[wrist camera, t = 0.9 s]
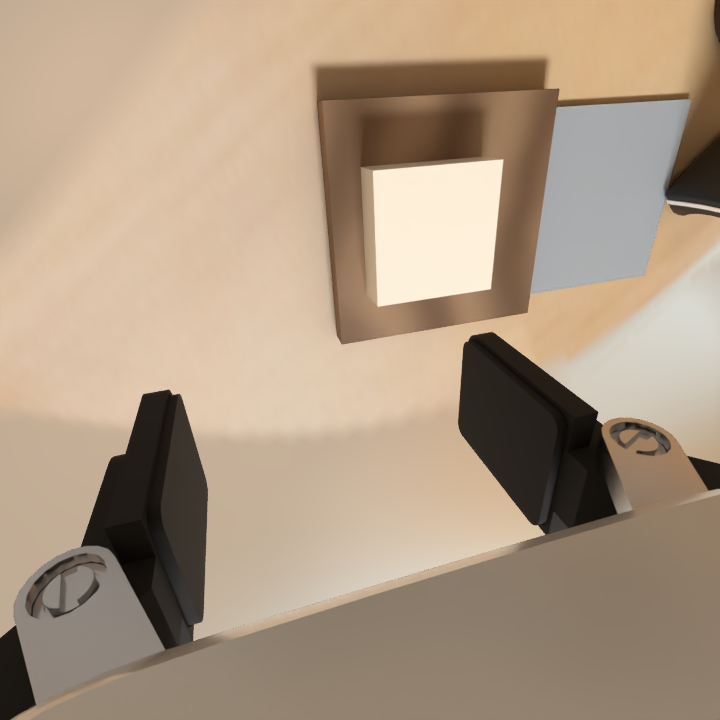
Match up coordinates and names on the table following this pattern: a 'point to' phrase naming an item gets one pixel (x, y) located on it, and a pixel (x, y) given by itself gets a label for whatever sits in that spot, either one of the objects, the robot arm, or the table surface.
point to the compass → (717, 19)
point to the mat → (605, 191)
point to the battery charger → (698, 186)
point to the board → (431, 143)
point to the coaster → (429, 228)
